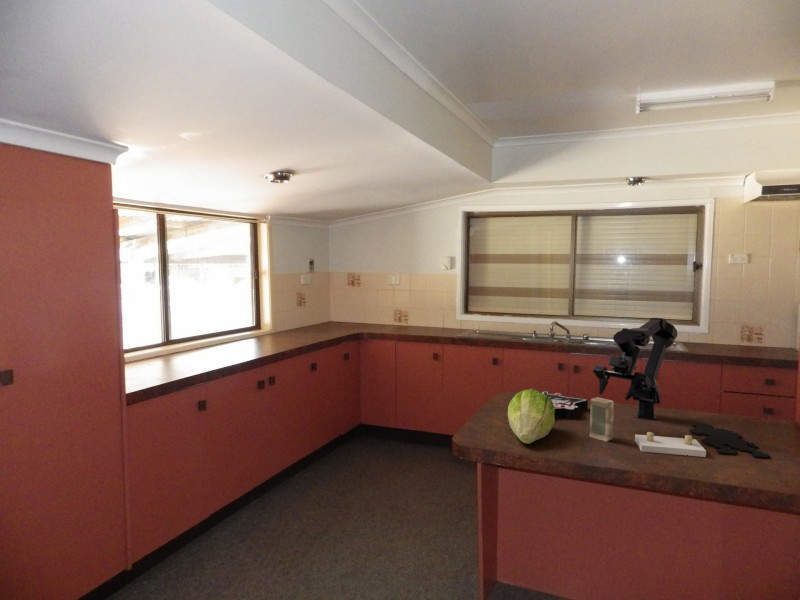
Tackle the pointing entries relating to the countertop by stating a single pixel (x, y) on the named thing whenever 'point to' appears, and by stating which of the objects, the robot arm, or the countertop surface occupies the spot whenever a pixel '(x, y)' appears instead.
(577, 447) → the countertop surface
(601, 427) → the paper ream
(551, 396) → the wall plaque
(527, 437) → the lettuce
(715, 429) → the ragged black cutout
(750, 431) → the countertop surface
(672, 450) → the white peg rack
